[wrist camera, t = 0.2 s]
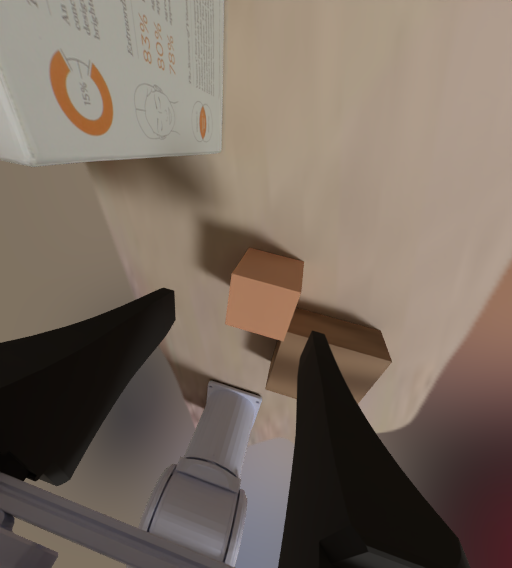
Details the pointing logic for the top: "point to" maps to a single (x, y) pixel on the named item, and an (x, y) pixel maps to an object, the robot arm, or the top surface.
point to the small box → (109, 79)
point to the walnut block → (344, 345)
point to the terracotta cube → (264, 293)
